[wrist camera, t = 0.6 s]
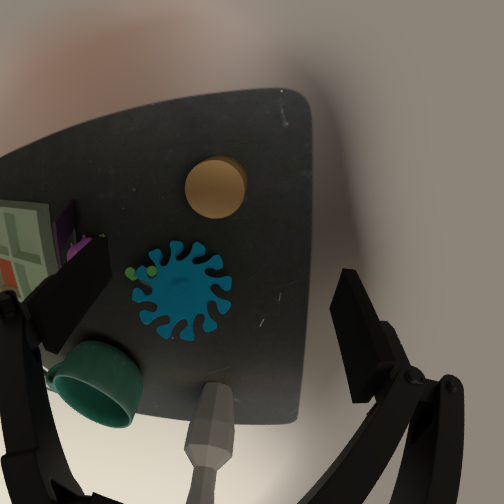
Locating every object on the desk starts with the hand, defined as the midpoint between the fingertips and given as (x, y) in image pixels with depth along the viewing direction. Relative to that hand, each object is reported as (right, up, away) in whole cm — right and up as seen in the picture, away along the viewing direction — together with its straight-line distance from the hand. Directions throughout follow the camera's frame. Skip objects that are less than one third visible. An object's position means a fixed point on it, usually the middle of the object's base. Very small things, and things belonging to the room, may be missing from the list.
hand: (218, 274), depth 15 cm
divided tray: (-31, +1, +16) cm, 35 cm away
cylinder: (-1, +8, +11) cm, 13 cm away
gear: (-5, -1, +15) cm, 16 cm away
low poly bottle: (-3, -20, +25) cm, 32 cm away
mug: (-22, -15, +24) cm, 36 cm away
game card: (-17, +3, +14) cm, 22 cm away
